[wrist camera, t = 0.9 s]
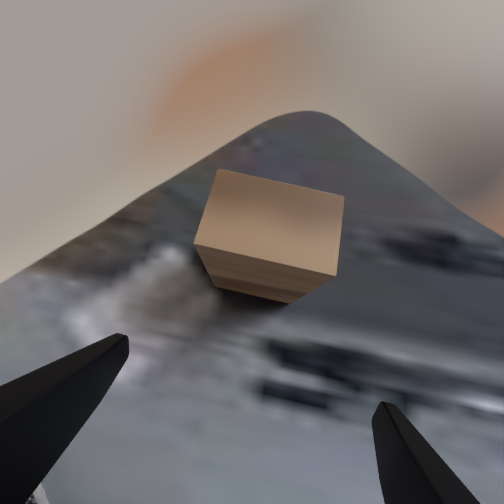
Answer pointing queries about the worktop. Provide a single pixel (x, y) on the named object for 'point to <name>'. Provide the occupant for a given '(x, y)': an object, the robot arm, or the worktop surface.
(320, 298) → the worktop surface
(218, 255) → the walnut block
